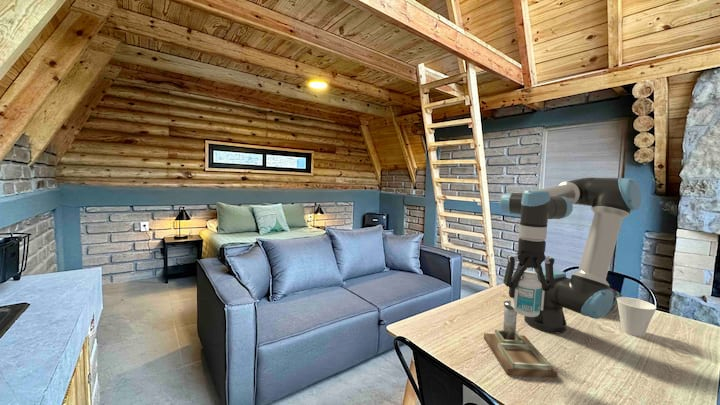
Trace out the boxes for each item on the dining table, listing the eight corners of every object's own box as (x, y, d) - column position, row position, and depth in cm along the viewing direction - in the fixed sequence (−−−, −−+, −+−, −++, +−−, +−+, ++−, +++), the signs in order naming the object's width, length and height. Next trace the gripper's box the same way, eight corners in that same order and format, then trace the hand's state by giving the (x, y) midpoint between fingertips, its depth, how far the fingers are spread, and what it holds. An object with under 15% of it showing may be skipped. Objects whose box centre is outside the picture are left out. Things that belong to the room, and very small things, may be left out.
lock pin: (513, 337, 111) (515, 301, 110) (518, 344, 107) (520, 306, 106) (500, 336, 112) (502, 300, 111) (504, 343, 107) (506, 305, 106)
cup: (652, 332, 122) (656, 303, 121) (653, 343, 113) (657, 312, 112) (614, 322, 130) (617, 294, 129) (612, 332, 121) (615, 302, 120)
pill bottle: (529, 307, 102) (532, 268, 100) (544, 317, 94) (548, 276, 93) (508, 307, 101) (511, 268, 100) (522, 318, 94) (525, 276, 92)
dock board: (524, 340, 113) (525, 330, 113) (556, 378, 92) (558, 365, 92) (483, 338, 114) (484, 328, 114) (506, 374, 93) (507, 362, 93)
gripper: (558, 237, 98) (552, 304, 100) (494, 235, 100) (490, 301, 102) (573, 242, 91) (566, 315, 93) (504, 240, 92) (498, 311, 94)
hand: (526, 307), depth 97 cm, fingers closed on pill bottle, 7 cm apart
